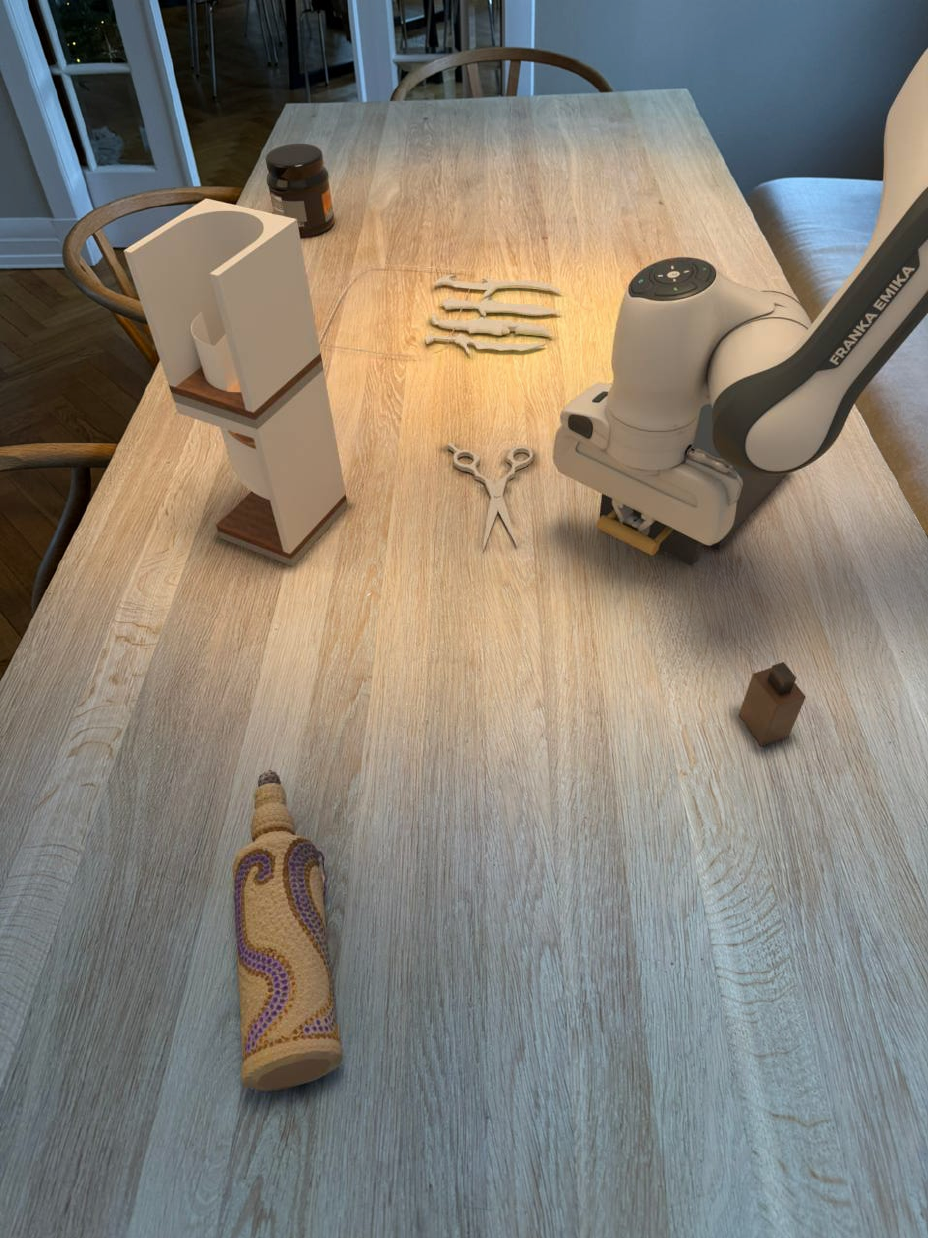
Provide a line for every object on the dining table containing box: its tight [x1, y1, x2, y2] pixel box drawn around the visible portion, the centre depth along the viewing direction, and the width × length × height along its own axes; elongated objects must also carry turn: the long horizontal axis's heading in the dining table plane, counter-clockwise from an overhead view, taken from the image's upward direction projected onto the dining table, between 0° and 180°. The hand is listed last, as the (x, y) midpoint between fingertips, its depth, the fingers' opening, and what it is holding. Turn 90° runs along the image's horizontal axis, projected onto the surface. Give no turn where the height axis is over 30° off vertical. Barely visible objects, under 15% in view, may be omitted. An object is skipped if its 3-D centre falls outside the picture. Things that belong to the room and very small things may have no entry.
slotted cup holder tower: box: [123, 198, 349, 567], centre depth 92 cm, size 11×11×35 cm
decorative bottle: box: [231, 769, 344, 1092], centre depth 71 cm, size 26×8×7 cm, turn 12°
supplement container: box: [265, 143, 335, 238], centre depth 152 cm, size 10×10×12 cm
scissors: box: [447, 441, 534, 551], centre depth 107 cm, size 11×1×20 cm
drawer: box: [596, 493, 704, 567], centre depth 99 cm, size 20×12×8 cm, turn 140°
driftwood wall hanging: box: [318, 264, 565, 357], centre depth 134 cm, size 26×35×1 cm
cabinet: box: [693, 404, 789, 549], centre depth 103 cm, size 17×14×10 cm
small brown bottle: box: [738, 661, 807, 747], centre depth 81 cm, size 4×3×8 cm
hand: (633, 532), depth 96 cm, fingers closed
